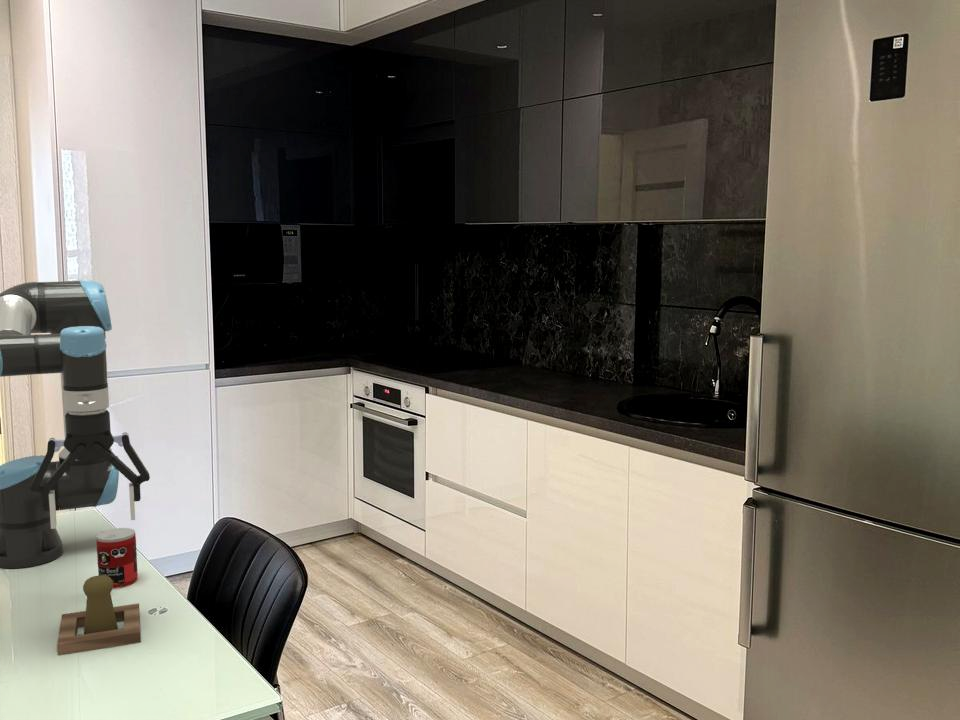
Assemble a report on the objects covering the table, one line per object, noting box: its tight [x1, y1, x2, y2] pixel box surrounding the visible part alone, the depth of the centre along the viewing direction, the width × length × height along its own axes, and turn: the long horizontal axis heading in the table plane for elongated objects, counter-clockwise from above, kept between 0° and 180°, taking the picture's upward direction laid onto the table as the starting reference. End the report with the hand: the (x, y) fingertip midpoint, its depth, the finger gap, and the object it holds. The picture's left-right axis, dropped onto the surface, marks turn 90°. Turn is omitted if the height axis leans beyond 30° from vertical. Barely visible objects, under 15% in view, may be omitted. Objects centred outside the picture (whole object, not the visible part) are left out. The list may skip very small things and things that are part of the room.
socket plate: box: [56, 603, 142, 656], centre depth 168 cm, size 14×14×2 cm
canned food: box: [95, 527, 139, 589], centre depth 192 cm, size 8×8×11 cm
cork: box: [82, 574, 119, 635], centre depth 167 cm, size 6×6×11 cm
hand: (94, 522), depth 165 cm, fingers open, 13 cm apart
